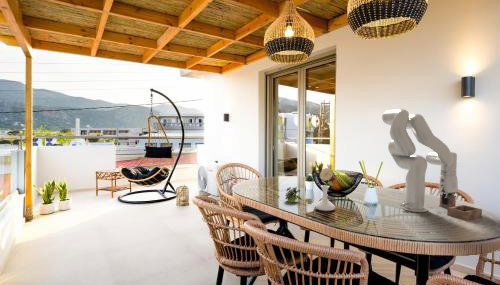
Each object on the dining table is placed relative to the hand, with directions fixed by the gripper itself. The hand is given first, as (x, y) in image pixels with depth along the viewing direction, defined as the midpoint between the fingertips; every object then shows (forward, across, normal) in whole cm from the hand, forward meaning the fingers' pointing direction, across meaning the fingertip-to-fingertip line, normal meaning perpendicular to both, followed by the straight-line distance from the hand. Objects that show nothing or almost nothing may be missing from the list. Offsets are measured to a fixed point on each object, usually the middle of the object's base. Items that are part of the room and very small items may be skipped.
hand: (447, 203), depth 166 cm
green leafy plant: (+3, -76, +48) cm, 90 cm away
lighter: (+3, 0, 0) cm, 3 cm away
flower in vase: (+3, -69, +24) cm, 73 cm away
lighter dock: (+2, -8, -14) cm, 16 cm away
